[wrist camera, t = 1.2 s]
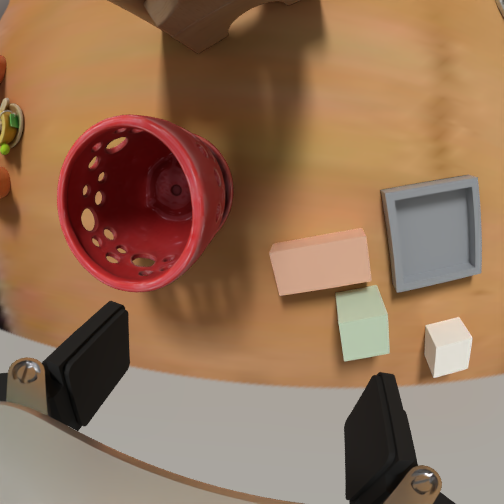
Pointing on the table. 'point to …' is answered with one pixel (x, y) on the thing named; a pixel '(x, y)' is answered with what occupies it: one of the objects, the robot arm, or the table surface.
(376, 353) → the sage block
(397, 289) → the grey tray
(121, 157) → the plant pot
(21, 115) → the toy tea set
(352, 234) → the terracotta brick
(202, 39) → the wooden toy
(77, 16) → the table surface
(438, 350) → the cream cube
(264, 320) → the table surface
